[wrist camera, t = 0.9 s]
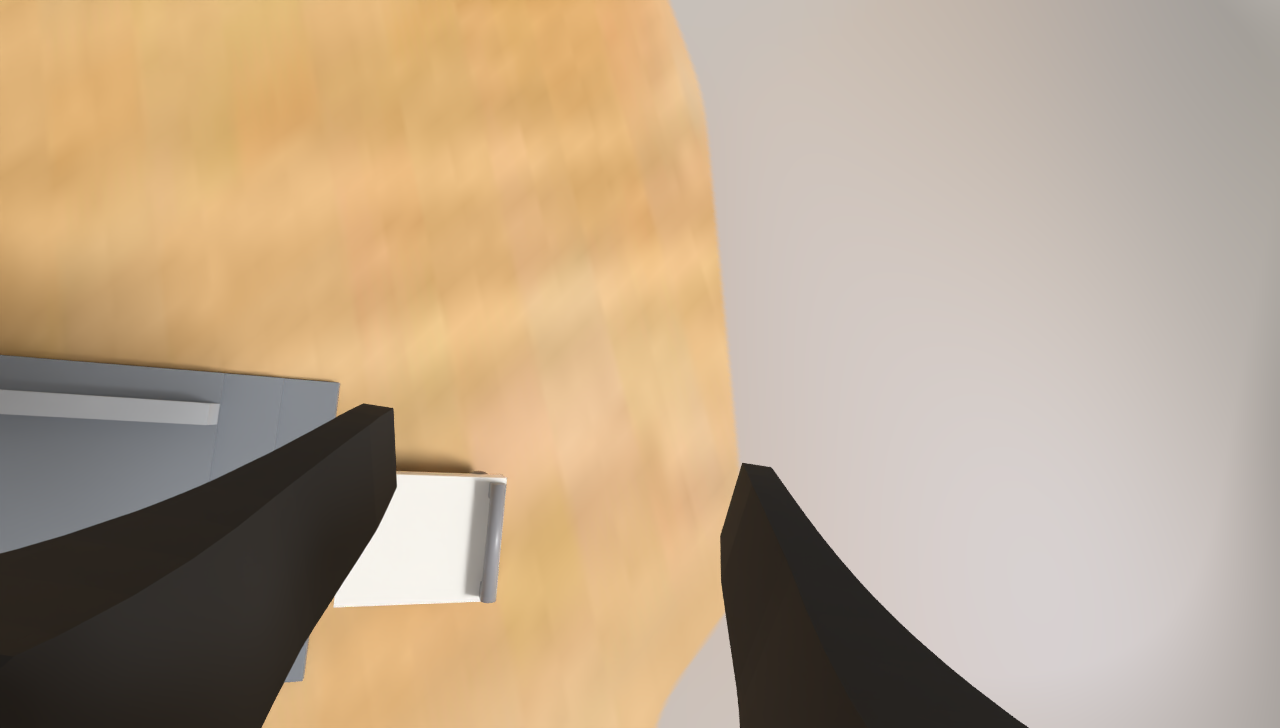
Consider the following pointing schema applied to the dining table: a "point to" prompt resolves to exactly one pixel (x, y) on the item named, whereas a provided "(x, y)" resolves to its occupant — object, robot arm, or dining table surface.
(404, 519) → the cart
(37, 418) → the dock
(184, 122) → the dining table surface
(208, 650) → the robot arm
